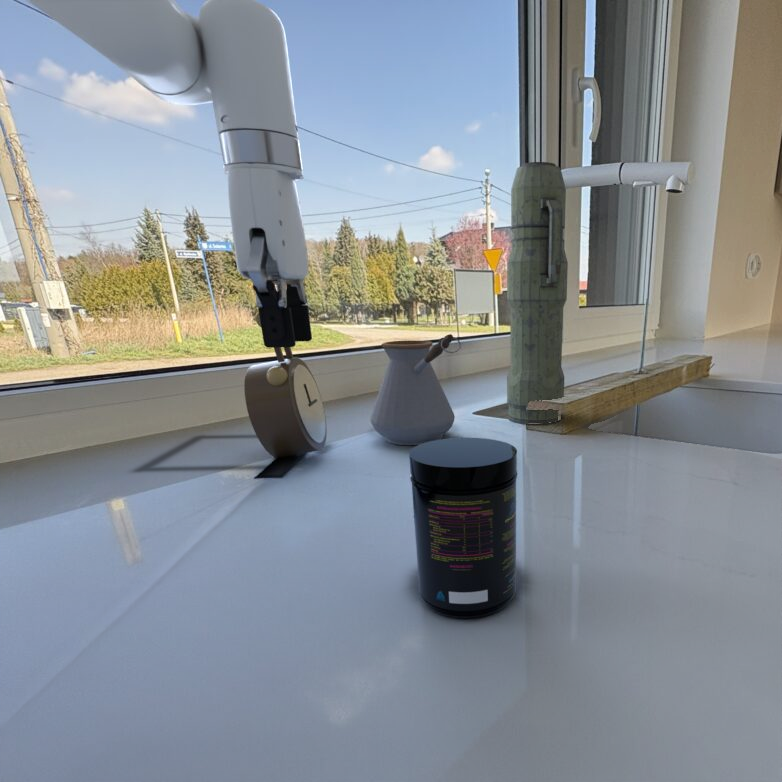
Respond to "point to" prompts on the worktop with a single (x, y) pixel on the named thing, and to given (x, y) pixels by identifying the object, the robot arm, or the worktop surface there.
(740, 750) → the worktop surface
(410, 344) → the coffee pot
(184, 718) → the worktop surface
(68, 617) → the worktop surface
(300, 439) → the clock
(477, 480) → the supplement container
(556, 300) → the thermos
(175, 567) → the worktop surface
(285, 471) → the mat
